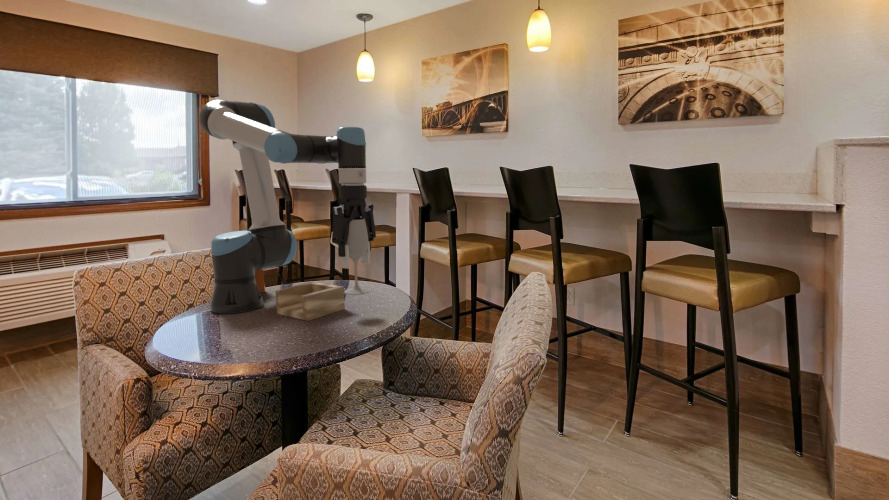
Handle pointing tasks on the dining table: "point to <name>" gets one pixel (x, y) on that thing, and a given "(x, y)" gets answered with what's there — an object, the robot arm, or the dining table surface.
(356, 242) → the wineglass
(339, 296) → the tan wooden open box
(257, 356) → the dining table surface
